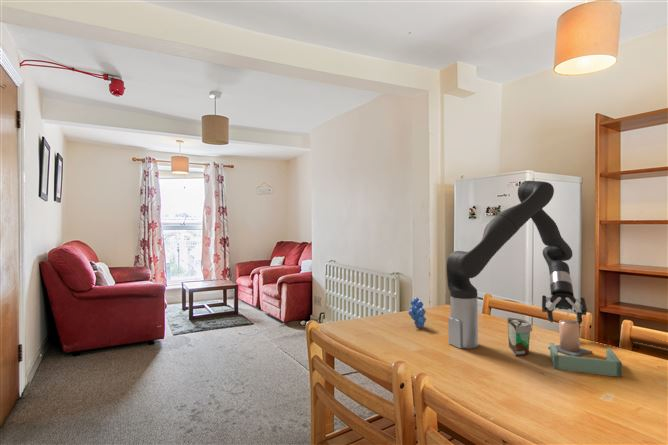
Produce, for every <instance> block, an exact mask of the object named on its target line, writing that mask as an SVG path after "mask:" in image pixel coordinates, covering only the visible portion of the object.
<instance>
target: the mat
mask: <svg viewBox="0 0 668 445" xmlns="http://www.w3.org/2000/svg"><path fill="white" fill-rule="evenodd" d="M555 346H556V349H557V352H558V353H560V354H562V355H568V356H577V357H582V356H585V355H590V354H593V350H590V349H587V348H584V347H580V351H566V350H563V349H561V348H560V344H555ZM547 348H548V350H550V346H548V347H547Z"/></svg>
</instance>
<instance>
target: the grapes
mask: <svg viewBox="0 0 668 445" xmlns="http://www.w3.org/2000/svg"><path fill="white" fill-rule="evenodd" d="M410 305H411V306H410V307H409V311H408V315H409V316H410V318H411V319H412V320H413V321H414V322H413V323H414V325H415V326H416V327H418V326H419V328H424V326H425V323H426V321H427V318H426V317H425V315H426V312H427V311H426V310H425V308H424V303H423V302H422V301H421V300H420V299H419V298H418V297H416V296H415V297H414V298H413V299H412V300H411V301H410Z"/></svg>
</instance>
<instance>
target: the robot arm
mask: <svg viewBox="0 0 668 445" xmlns="http://www.w3.org/2000/svg"><path fill="white" fill-rule="evenodd" d="M554 194H555V189H554V186H553V184H552V183H550V182H547V181H543V180H541V181H540V180H524V181H523V182H521V183H520V184H519V185H518V188H517V197H518V199H519V202H520V203H518V204H516V205H513V206H512V207H508V208H506V209H504V210H502V211H501V212H499V213H497V214H496V215H495V216H494V217H493V218H492V219H491V220H490V221H489V222H488V223H487V225H485V228H484V231H483V234H482V235H483V236H482V238H481V240H479V242H478V243H477V244H476V245H475V246H474V247H473V248H472V249H471V250H468V251H464V250H463V251H462V250H455V251H452V252H451V253H450V254H449V255H448V257H447V259H446V278H447V279H446V280H447V287H448V290H449V298H450V300H449V301H450V302H449V303H450V307H449V310H450V316H448V318H447V319H448V320H447V321H448V322H447V323H448V325H447V326H448V329H447V330H448V344H449V345H451V346H454V347H455V348H458V349H475V348H478V347H479V316H478V314H479V313H478V312H479V311H478V309H479V308H478V304H479V303H478V302H479V301H478V290H477V287H475V286H474V285H473V283H471V281H470V279H473V278H476V277H477V276H478V275H480V274H481V272H482V271H483V270H484V268H485V267H486V266H487V265H488V263H490V261H491V260H492V258H493V257H494V256H495V255H496V254H497V252H499V250H501V248H502V247H504V246H505V244H506V243H507V242H508V241H509V240H511V238H512V237H514V235H515V234H516V233H517V232H518V231H519V230H520V229H521V228H522V227H523V226H525V224H526V223H527V222H528V221H529V220H530V219H531V220H532V222H533V223H534V225H535V227H536V229H537V232H538V234H539V237H540V239H541V241H542V243H543V245H544V246H545V247H544V248H543V250H542V256H543V259H544V260H545V262H546V264H547V268H548V271H549V287H550V288H549V290H550V296H546V295H542V296H541V298H542V299H541V311H542V313H547V320H548V321H549V322H550V323H554V316H553V314H554V311H556V309H558V310H565V311H566V310H567V311H568V310H569V311H571V312H572V313H574V315H576V321H577V322H578V323H579V325H581V324H583V316H587V313H588V308H587V304H586V299H585V298H584V297H580V298H575V295H574V288H573V287H574V286H573V281H572V278H571V272H570V266H569V264H568V263H567V262H566V261H570V260H571V259H572V257H573V250H572V248H571V247H570V245H569V243H567V242H566V241H565V240H564V238H563V237H562V235H561V233H560V229H559V227H558V225H557V223H556V222H555V221H554V219H553V218H552V217H551V216H550V215H549V214H548V213H547V212H546V211H545V210H544V208H545V207H546V206H547V205H548V204H549V203H550V202H551V201H552V199H553V196H554ZM549 302H550V303H551V304H550V306H548V307H547V304H548V303H549ZM576 303H577V304H578V305H579V306H580V308H581V309H580V308H579V307H578V306H577V304H576Z"/></svg>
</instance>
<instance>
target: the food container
mask: <svg viewBox="0 0 668 445" xmlns="http://www.w3.org/2000/svg"><path fill="white" fill-rule="evenodd" d="M506 322H507V334H508V348H509V349H510V351H511V352H512V354H513V355H514V356H515V357H526V356H528V355H529V353H530V352H529V351H530V339H531V338H530V337H531V336H530V335H531V332H532V331H533V327H532V324H531V322H530V321H527V320H525V319H523V318H522V319H521V318H517V317H516V318H515V317H507V320H506Z"/></svg>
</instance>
